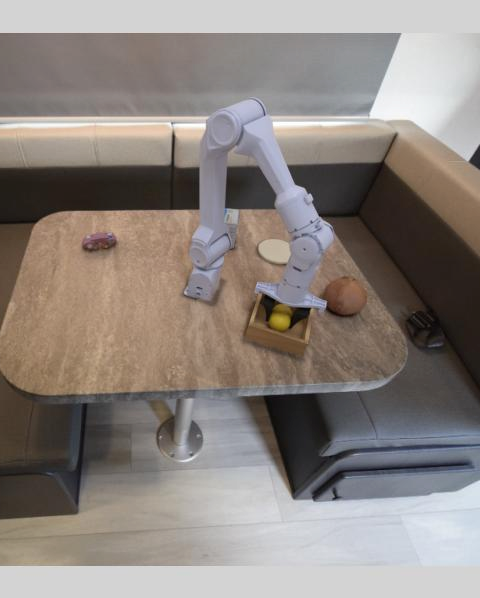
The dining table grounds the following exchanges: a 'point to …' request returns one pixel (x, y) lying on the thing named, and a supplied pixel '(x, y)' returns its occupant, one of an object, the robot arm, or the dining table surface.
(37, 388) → the dining table surface
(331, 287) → the onion
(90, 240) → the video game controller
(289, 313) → the lemon
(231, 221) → the medicine box
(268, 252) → the plate
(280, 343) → the crate
